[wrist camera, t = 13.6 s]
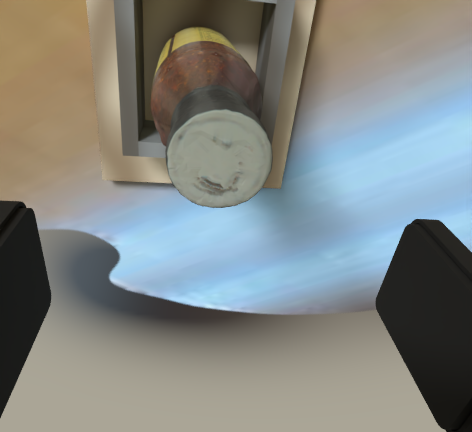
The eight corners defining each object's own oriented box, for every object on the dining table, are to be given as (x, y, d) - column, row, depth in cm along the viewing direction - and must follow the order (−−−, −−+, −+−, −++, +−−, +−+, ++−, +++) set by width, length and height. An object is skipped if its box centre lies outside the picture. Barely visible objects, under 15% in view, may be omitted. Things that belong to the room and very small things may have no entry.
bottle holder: (327, -92, 27) (361, -108, 22) (277, 181, 39) (291, 215, 33) (80, -130, 25) (48, -158, 19) (105, 172, 37) (90, 207, 31)
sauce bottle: (192, 118, 33) (192, 267, 16) (143, 56, 30) (82, 160, 13) (255, 73, 31) (325, 185, 15) (210, 2, 28) (236, 43, 12)
